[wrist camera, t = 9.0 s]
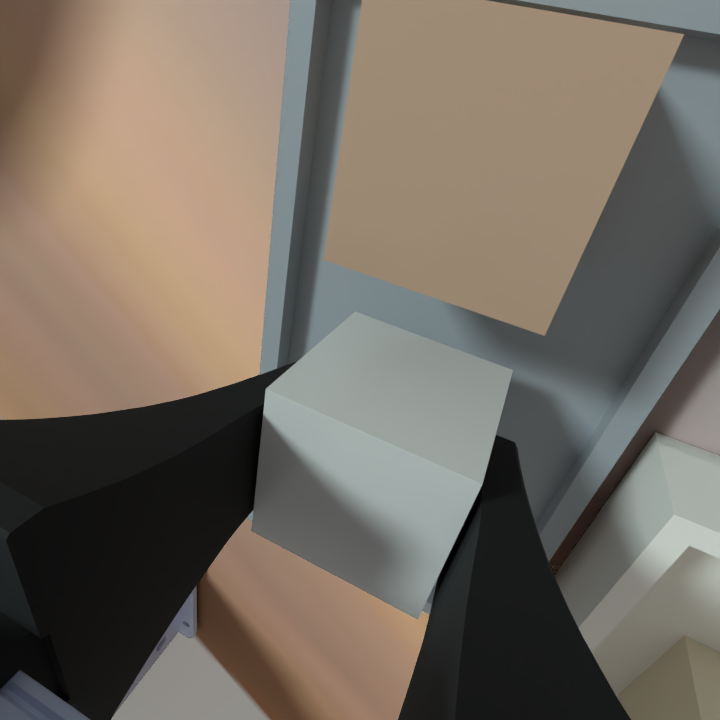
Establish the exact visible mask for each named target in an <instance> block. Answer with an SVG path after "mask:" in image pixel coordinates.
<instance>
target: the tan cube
mask: <svg viewBox="0 0 720 720" xmlns="http://www.w3.org/2000/svg"><path fill="white" fill-rule="evenodd" d="M683 36H684V34H680V33H674V32H668V31H662V30H657V29H651V28H645V27H639V26H633V25H627V24H622V23H616V22H610V21H604V20H598V19H593V18H587V17H581V16H575V15H569V14H563V13H558V12H552V11H546V10H540V9H534V8H528V7H523V6H517V5H511V4H505V3H499V2H494V1H488V0H362V3H361V9H360V16H359V23H358V29H357V36H356V43H355V50H354V56H353V63H352V70H351V76H350V83H349V90H348V97H347V103H346V110H345V117H344V124H343V130H342V137H341V144H340V150H339V157H338V164H337V171H336V177H335V184H334V191H333V197H332V204H331V211H330V218H329V224H328V231H327V238H326V244H325V251H324V258H323V260H325V261H328V262H331V263H334V264H337V265H340V266H343V267H346V268H349V269H352V270H354V271H357V272H360V273H363V274H366V275H369V276H372V277H375V278H378V279H381V280H383V281H386V282H389V283H392V284H395V285H398V286H401V287H404V288H407V289H410V290H413V291H415V292H418V293H421V294H424V295H427V296H430V297H433V298H436V299H439V300H442V301H445V302H447V303H450V304H453V305H456V306H459V307H462V308H465V309H468V310H471V311H474V312H477V313H479V314H482V315H485V316H488V317H491V318H494V319H497V320H500V321H503V322H506V323H509V324H511V325H514V326H517V327H520V328H523V329H526V330H529V331H532V332H535V333H538V334H541V335H543V336H545V334H546V332H547V330H548V327H549V325H550V323H551V321H552V319H553V317H554V314H555V312H556V310H557V308H558V306H559V304H560V301H561V299H562V297H563V295H564V293H565V291H566V289H567V286H568V284H569V282H570V280H571V278H572V276H573V273H574V271H575V269H576V267H577V265H578V263H579V260H580V258H581V256H582V254H583V252H584V250H585V248H586V245H587V243H588V241H589V239H590V237H591V235H592V232H593V230H594V228H595V226H596V224H597V222H598V219H599V217H600V215H601V213H602V211H603V209H604V207H605V204H606V202H607V200H608V198H609V196H610V194H611V191H612V189H613V187H614V185H615V183H616V181H617V178H618V176H619V174H620V172H621V170H622V168H623V166H624V163H625V161H626V159H627V157H628V155H629V153H630V150H631V148H632V146H633V144H634V142H635V140H636V137H637V135H638V133H639V131H640V129H641V127H642V125H643V122H644V120H645V118H646V116H647V114H648V112H649V109H650V107H651V105H652V103H653V101H654V99H655V96H656V94H657V92H658V90H659V88H660V86H661V84H662V81H663V79H664V77H665V75H666V73H667V71H668V68H669V66H670V64H671V62H672V60H673V58H674V55H675V53H676V51H677V49H678V47H679V45H680V43H681V40H682V38H683Z"/></svg>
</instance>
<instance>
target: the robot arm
mask: <svg viewBox="0 0 720 720" xmlns="http://www.w3.org/2000/svg"><path fill="white" fill-rule="evenodd" d="M296 362H297V361H296ZM296 362H293V363H291V364H288V365H285V366H282V367H280V368H277V369H274V370H272V371H269V372H266V373H263V374H261V375H258V376H255V377H252V378H249V379H246V380H244V381H241V382H238V383H235V384H232V385H228V386H225V387H222V388H218V389H215V390H212V391H209V392H205V393H202V394H199V395H195V396H191V397H187V398H183V399H179V400H175V401H170V402H166V403H161V404H156V405H151V406H146V407H140V408H134V409H127V410H120V411H113V412H107V413H100V414H92V415H82V416H72V417H59V418H45V419H26V420H0V720H111V718H112V717H113V716H114V714H115V713H116V712H117V710H118V709H119V708H120V707H121V705H122V704H123V703H124V701H125V700H126V699H127V697H128V696H129V695H130V693H131V692H132V691H133V690H134V688H135V687H136V686H137V684H138V683H139V682H140V681H141V679H142V678H143V677H144V676H145V674H146V673H147V672H148V670H149V669H150V668H151V667H152V665H153V664H154V663H155V661H156V660H157V659H158V658H159V656H160V655H161V654H162V652H163V651H164V650H165V649H166V647H167V646H168V645H169V643H170V642H171V641H172V639H173V638H174V637H175V636H176V634H177V633H178V632H180V633H182V634H183V635H185V636H186V637H188V638H193V637H194V636H195V634H196V633H197V584H198V582H199V581H200V579H201V578H202V576H203V575H204V573H205V572H206V571H207V569H208V568H209V566H210V565H211V564H212V562H213V561H214V559H215V558H216V556H217V555H218V554H219V552H220V551H221V549H222V548H223V547H224V545H225V544H226V542H227V541H228V540H229V538H230V537H231V536H232V535H233V533H234V532H235V531H236V530H237V528H238V527H239V526H240V525H241V523H242V522H243V521H244V520H245V519H246V518H247V517H248V515H249V514H250V513H251V512H252V511H253V510H254V500H255V490H256V480H257V470H258V460H259V450H260V441H261V431H262V421H263V411H264V401H265V391H266V388H267V387H268V386H270V385H271V384H272V383H273V382H274V381H275V380H277V379H278V378H279V377H280V376H281V375H282V374H284V373H285V372H286V371H287V370H288V369H289V368H290V367H292V366H293V365H294V364H295V363H296ZM398 720H631V719H630V717H629V715H628V714H627V712H626V711H625V709H624V708H623V706H622V704H621V703H620V701H619V700H618V698H617V696H616V695H615V693H614V691H613V690H612V688H611V686H610V684H609V683H608V681H607V679H606V677H605V675H604V674H603V672H602V670H601V668H600V667H599V665H598V663H597V661H596V659H595V658H594V656H593V654H592V652H591V650H590V649H589V647H588V645H587V643H586V641H585V640H584V638H583V636H582V634H581V632H580V630H579V628H578V626H577V624H576V622H575V620H574V618H573V616H572V614H571V612H570V610H569V608H568V605H567V603H566V601H565V599H564V597H563V594H562V592H561V590H560V588H559V585H558V583H557V581H556V578H555V576H554V574H553V571H552V569H551V566H550V563H549V561H548V558H547V556H546V553H545V550H544V547H543V545H542V542H541V539H540V536H539V533H538V530H537V527H536V524H535V521H534V517H533V514H532V510H531V507H530V504H529V500H528V496H527V493H526V489H525V484H524V480H523V476H522V471H521V466H520V461H519V454H518V448H517V446H516V444H515V442H513V441H511V440H508V439H506V438H503V437H501V436H498V435H496V436H495V439H494V443H493V447H492V451H491V454H490V458H489V462H488V466H487V469H486V473H485V477H484V481H483V484H482V486H481V488H480V491H479V493H478V495H477V497H476V499H475V501H474V503H473V505H472V507H471V509H470V511H469V513H468V516H467V518H466V520H465V522H464V524H463V526H462V528H461V530H460V532H459V534H458V536H457V539H456V541H455V543H454V545H453V547H452V549H451V551H450V553H449V555H448V557H447V559H446V561H445V564H444V566H443V568H442V570H441V572H440V574H439V576H438V578H437V583H436V588H435V592H434V597H433V602H432V606H431V611H430V615H429V620H428V624H427V628H426V632H425V636H424V640H423V643H422V647H421V650H420V653H419V656H418V659H417V662H416V665H415V669H414V672H413V675H412V678H411V681H410V684H409V688H408V691H407V694H406V697H405V700H404V703H403V706H402V709H401V712H400V715H399V719H398Z"/></svg>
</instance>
